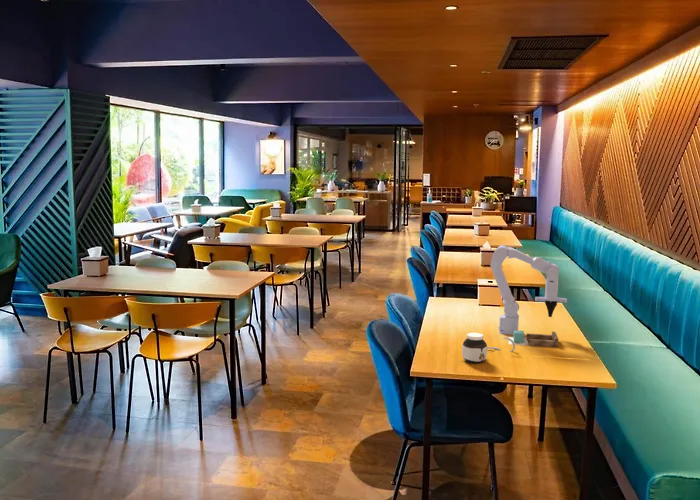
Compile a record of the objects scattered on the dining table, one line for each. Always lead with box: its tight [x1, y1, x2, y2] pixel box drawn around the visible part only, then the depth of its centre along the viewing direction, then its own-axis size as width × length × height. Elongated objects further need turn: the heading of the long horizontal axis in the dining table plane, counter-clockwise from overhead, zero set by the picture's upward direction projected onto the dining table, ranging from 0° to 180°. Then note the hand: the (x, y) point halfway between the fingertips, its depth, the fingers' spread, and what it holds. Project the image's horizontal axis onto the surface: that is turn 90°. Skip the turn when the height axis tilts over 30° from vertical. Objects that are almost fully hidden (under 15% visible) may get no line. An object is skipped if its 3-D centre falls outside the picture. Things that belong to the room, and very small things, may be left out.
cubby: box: [506, 331, 559, 348], centre depth 293 cm, size 22×12×5 cm, turn 79°
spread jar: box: [461, 332, 488, 364], centre depth 269 cm, size 12×11×12 cm
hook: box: [487, 337, 516, 353], centre depth 282 cm, size 7×9×20 cm
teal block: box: [512, 330, 525, 343], centre depth 294 cm, size 4×4×4 cm
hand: (550, 316), depth 302 cm, fingers closed
